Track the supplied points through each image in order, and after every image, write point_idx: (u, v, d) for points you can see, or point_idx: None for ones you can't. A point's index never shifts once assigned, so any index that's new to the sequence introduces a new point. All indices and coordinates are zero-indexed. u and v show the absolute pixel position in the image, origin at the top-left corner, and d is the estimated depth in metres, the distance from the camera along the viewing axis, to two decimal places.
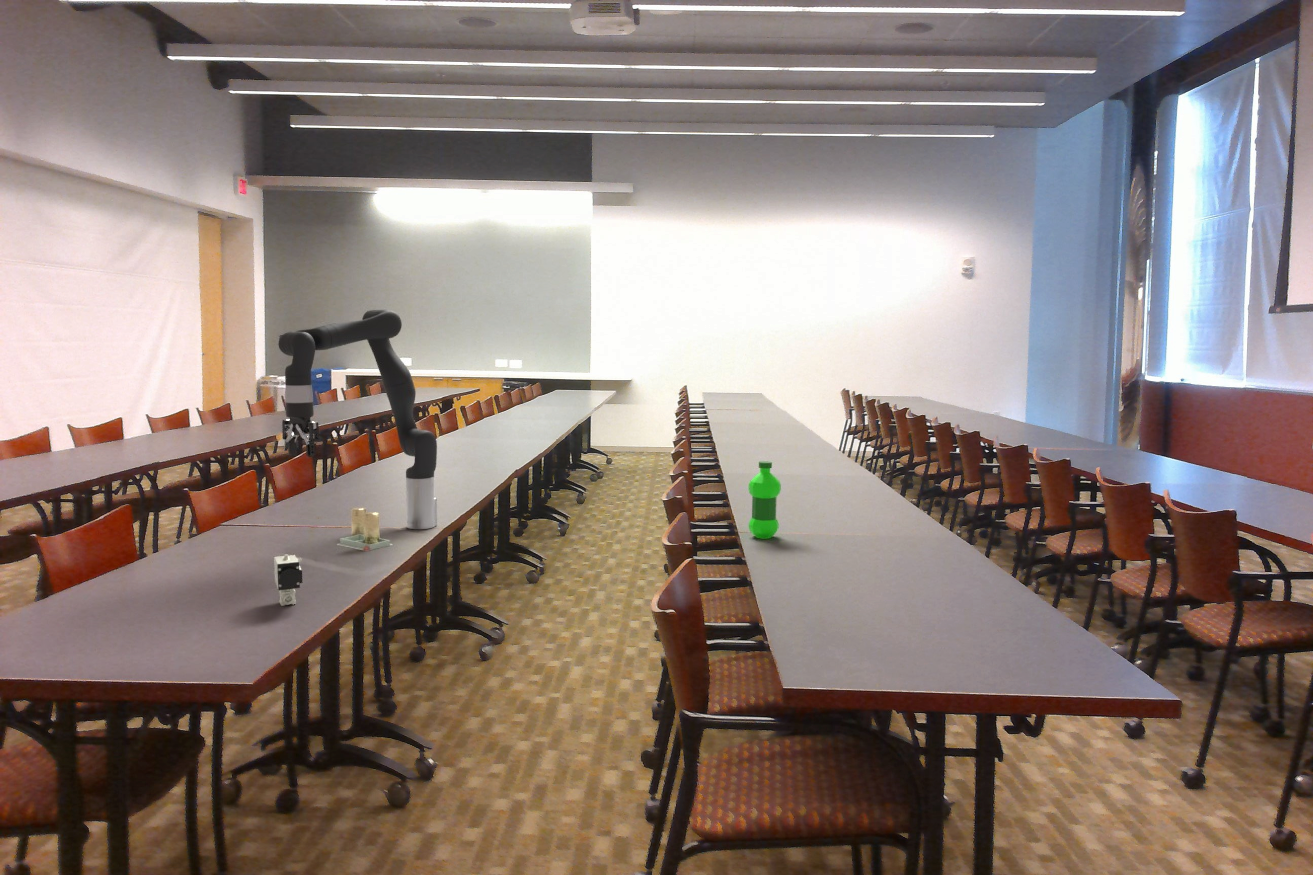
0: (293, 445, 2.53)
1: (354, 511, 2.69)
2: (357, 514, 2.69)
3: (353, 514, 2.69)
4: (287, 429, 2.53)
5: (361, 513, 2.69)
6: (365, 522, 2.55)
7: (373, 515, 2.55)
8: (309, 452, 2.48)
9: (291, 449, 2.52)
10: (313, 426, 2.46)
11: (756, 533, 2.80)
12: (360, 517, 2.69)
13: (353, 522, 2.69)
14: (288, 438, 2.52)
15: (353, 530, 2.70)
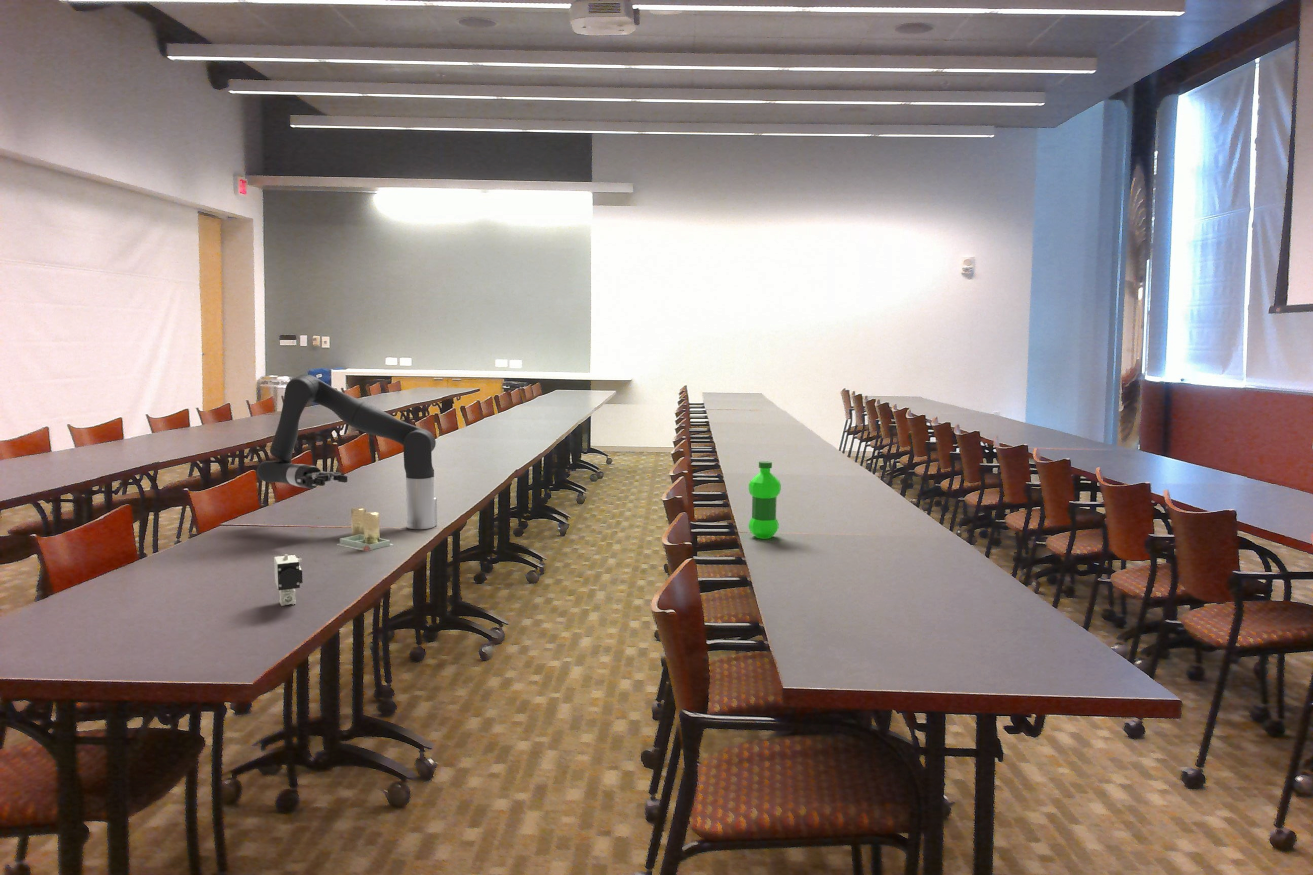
0: (340, 478, 2.80)
1: (354, 511, 2.69)
2: (357, 514, 2.69)
3: (353, 514, 2.69)
4: (335, 477, 2.85)
5: (361, 513, 2.69)
6: (365, 522, 2.55)
7: (373, 515, 2.55)
8: (319, 484, 2.72)
9: (342, 480, 2.80)
10: (298, 481, 2.75)
11: (756, 533, 2.80)
12: (360, 517, 2.69)
13: (353, 522, 2.69)
14: None
15: (353, 530, 2.70)
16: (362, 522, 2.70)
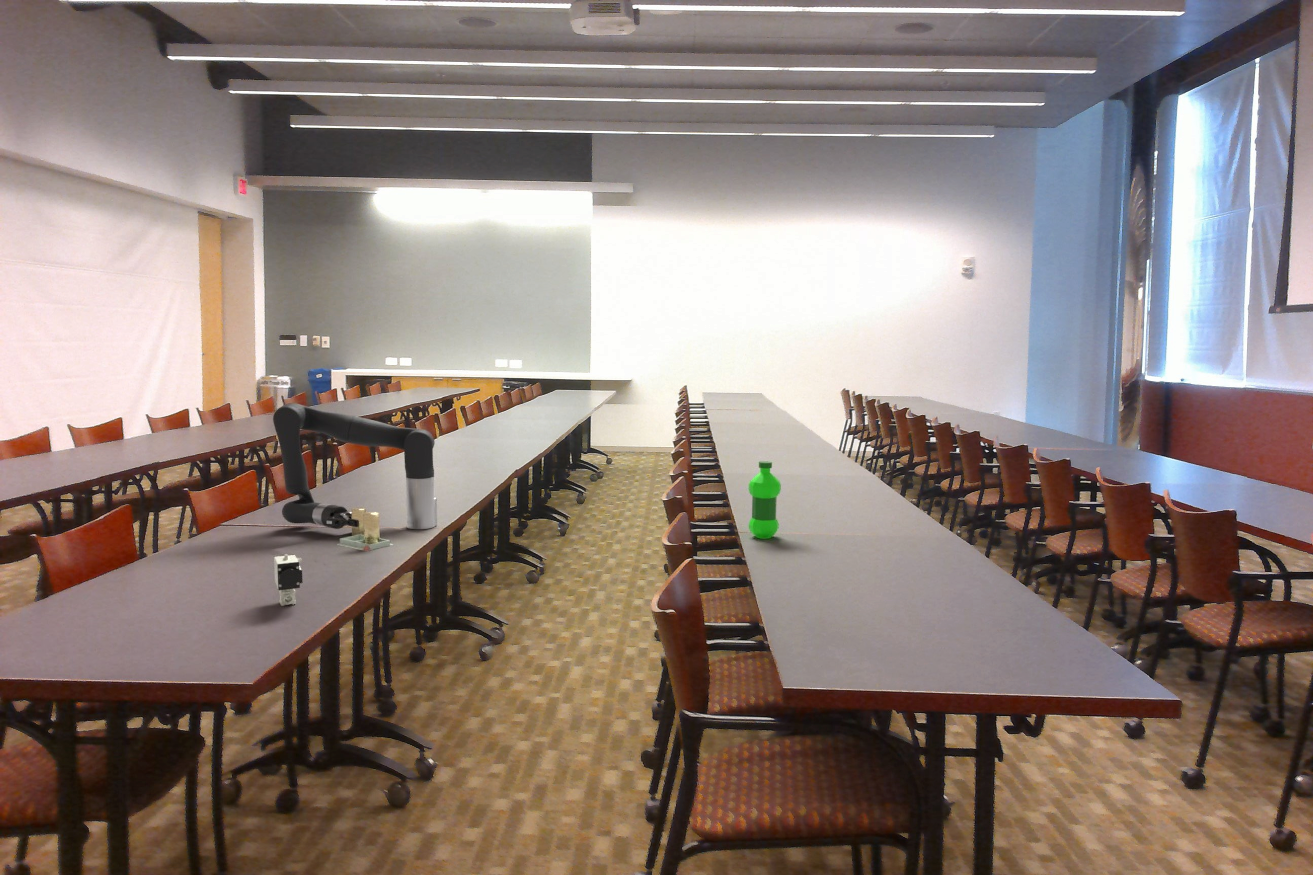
0: None
1: (354, 511, 2.69)
2: (357, 514, 2.69)
3: (353, 514, 2.69)
4: None
5: (361, 513, 2.69)
6: (365, 522, 2.55)
7: (373, 515, 2.55)
8: (353, 525, 2.68)
9: None
10: (329, 523, 2.69)
11: (756, 533, 2.80)
12: (360, 517, 2.69)
13: None
14: None
15: (353, 530, 2.70)
16: (362, 522, 2.70)
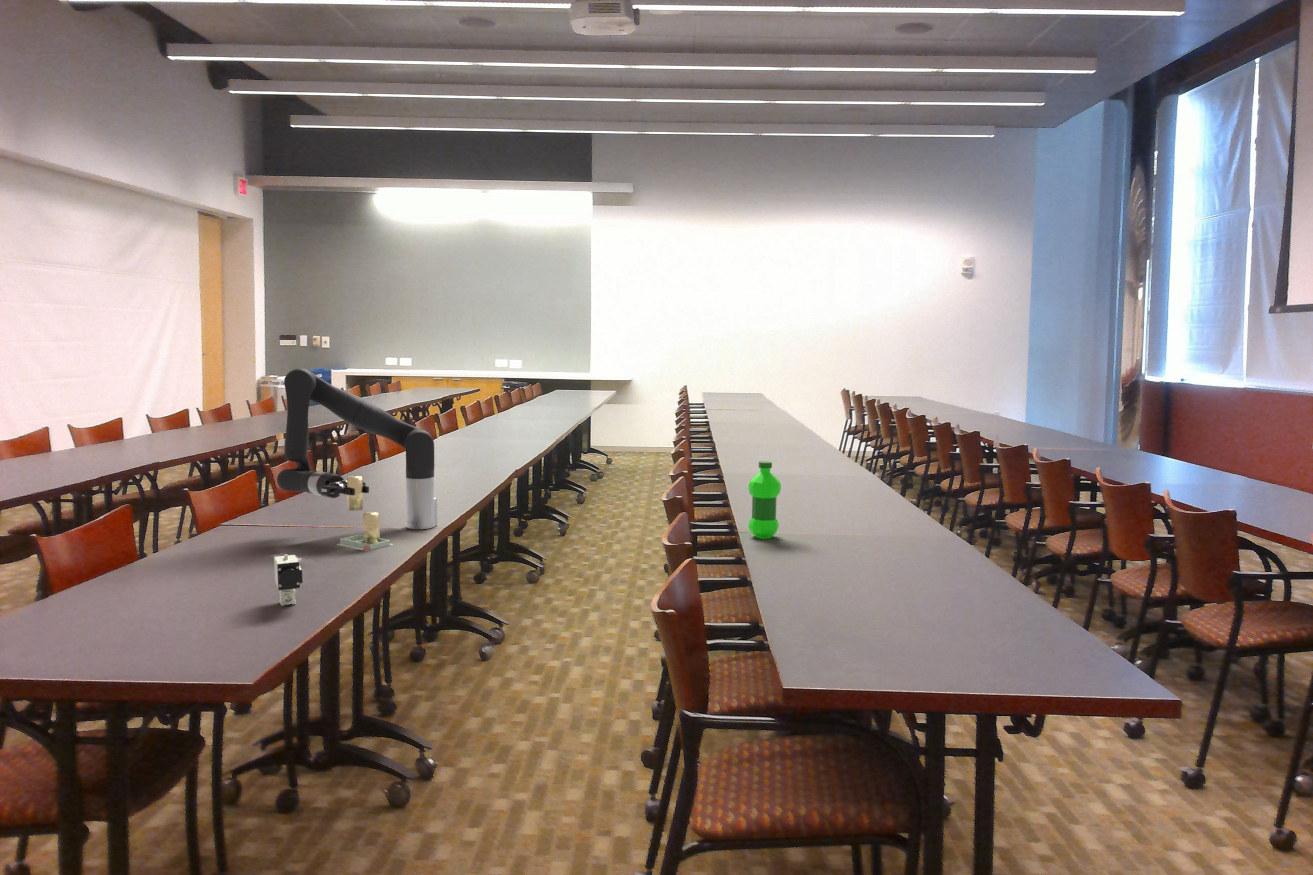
0: None
1: (350, 479, 2.58)
2: (353, 482, 2.58)
3: (349, 482, 2.58)
4: None
5: (357, 481, 2.59)
6: (365, 522, 2.55)
7: (373, 515, 2.55)
8: (348, 494, 2.57)
9: (363, 491, 2.62)
10: (324, 491, 2.59)
11: (756, 533, 2.80)
12: (356, 485, 2.59)
13: None
14: None
15: (349, 499, 2.59)
16: (358, 490, 2.59)
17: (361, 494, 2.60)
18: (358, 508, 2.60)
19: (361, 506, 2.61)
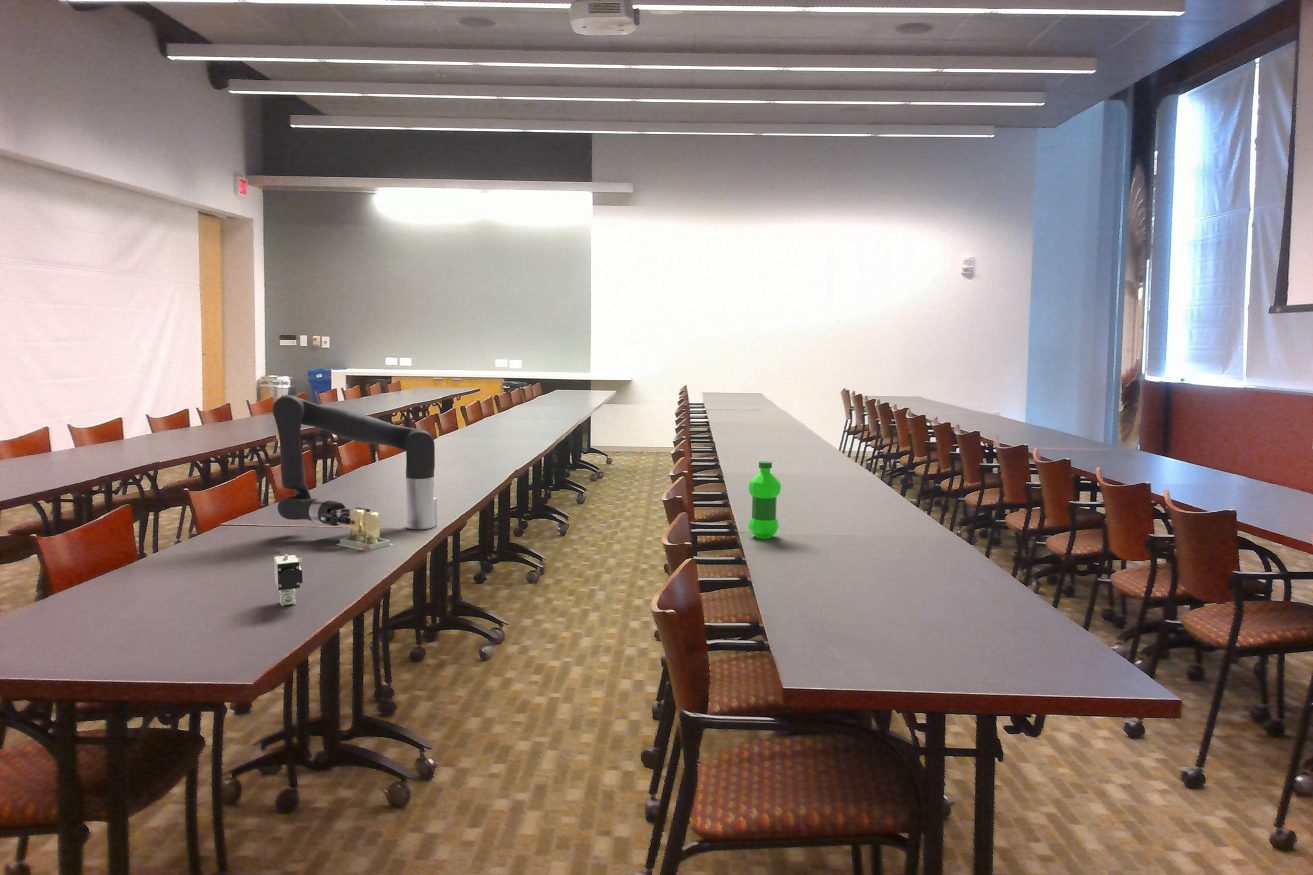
0: None
1: (352, 513, 2.58)
2: (355, 516, 2.58)
3: (351, 516, 2.59)
4: None
5: (360, 515, 2.59)
6: (365, 522, 2.55)
7: (373, 515, 2.55)
8: (344, 523, 2.56)
9: None
10: (322, 519, 2.59)
11: (756, 533, 2.80)
12: (358, 519, 2.59)
13: (351, 524, 2.59)
14: None
15: (351, 532, 2.59)
16: (360, 524, 2.59)
17: (363, 528, 2.60)
18: None
19: None
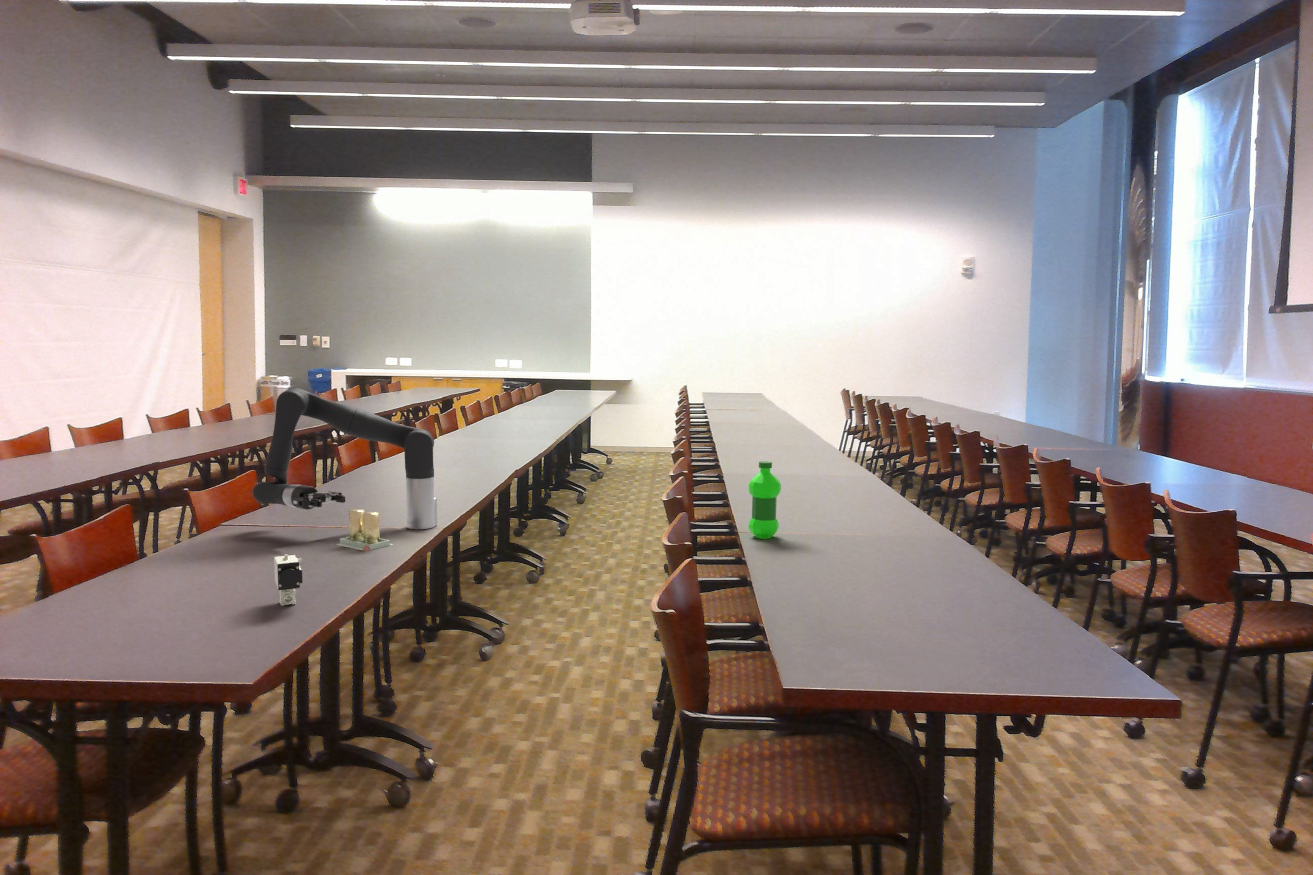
0: (337, 498, 2.72)
1: (352, 513, 2.58)
2: (355, 516, 2.58)
3: (351, 516, 2.58)
4: (333, 497, 2.76)
5: (360, 515, 2.59)
6: (365, 522, 2.55)
7: (373, 515, 2.55)
8: (316, 506, 2.64)
9: (340, 500, 2.71)
10: (295, 503, 2.66)
11: (756, 533, 2.80)
12: (358, 519, 2.59)
13: (351, 524, 2.59)
14: (333, 501, 2.73)
15: (351, 532, 2.59)
16: (360, 524, 2.59)
17: (363, 528, 2.60)
18: None
19: None
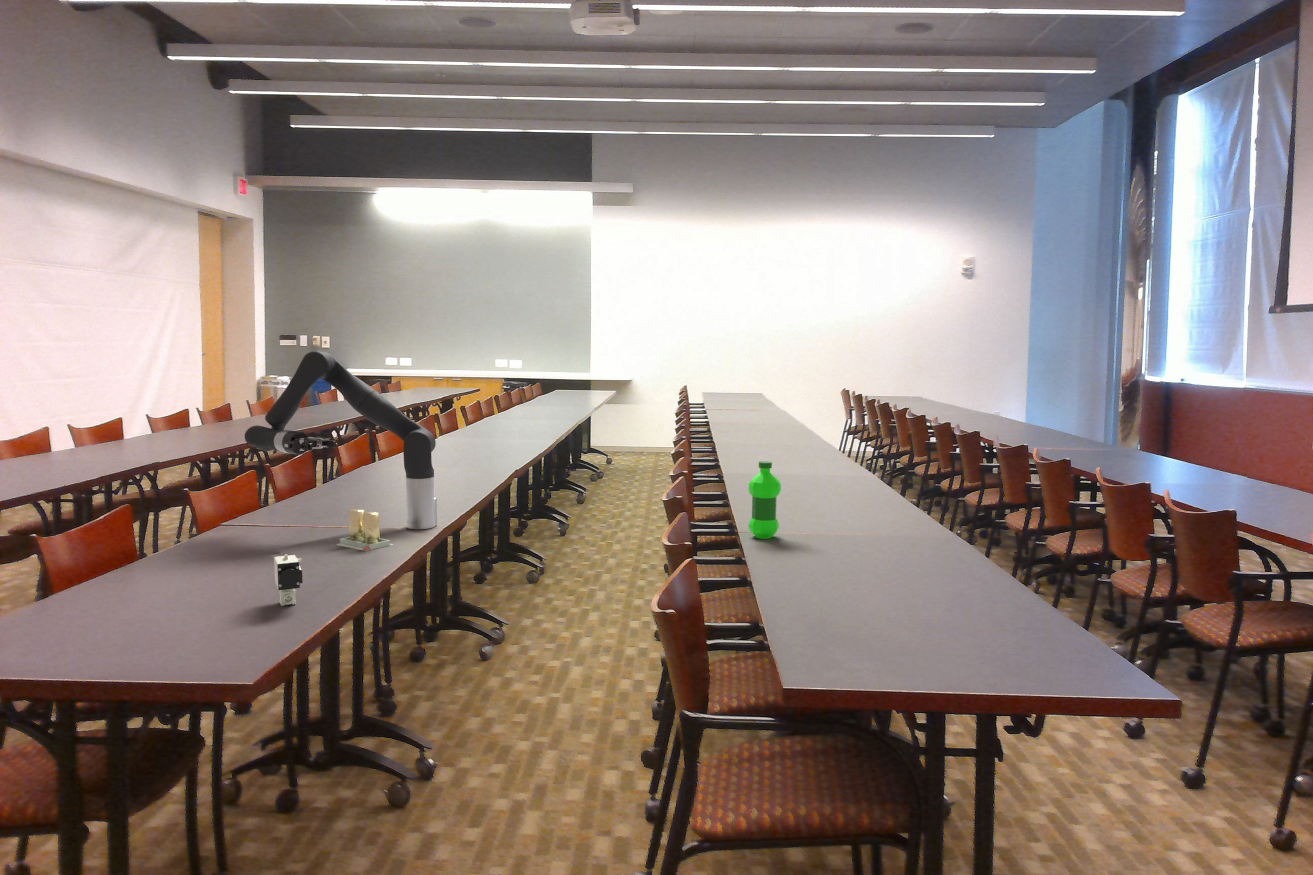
0: (328, 443, 2.74)
1: (352, 512, 2.58)
2: (355, 516, 2.58)
3: (351, 516, 2.59)
4: (324, 443, 2.78)
5: (360, 515, 2.59)
6: (365, 522, 2.55)
7: (373, 515, 2.55)
8: (306, 449, 2.66)
9: (330, 445, 2.73)
10: (286, 446, 2.68)
11: (756, 533, 2.80)
12: (358, 519, 2.59)
13: (351, 524, 2.59)
14: None
15: (351, 532, 2.59)
16: (360, 524, 2.59)
17: (363, 528, 2.60)
18: None
19: None
